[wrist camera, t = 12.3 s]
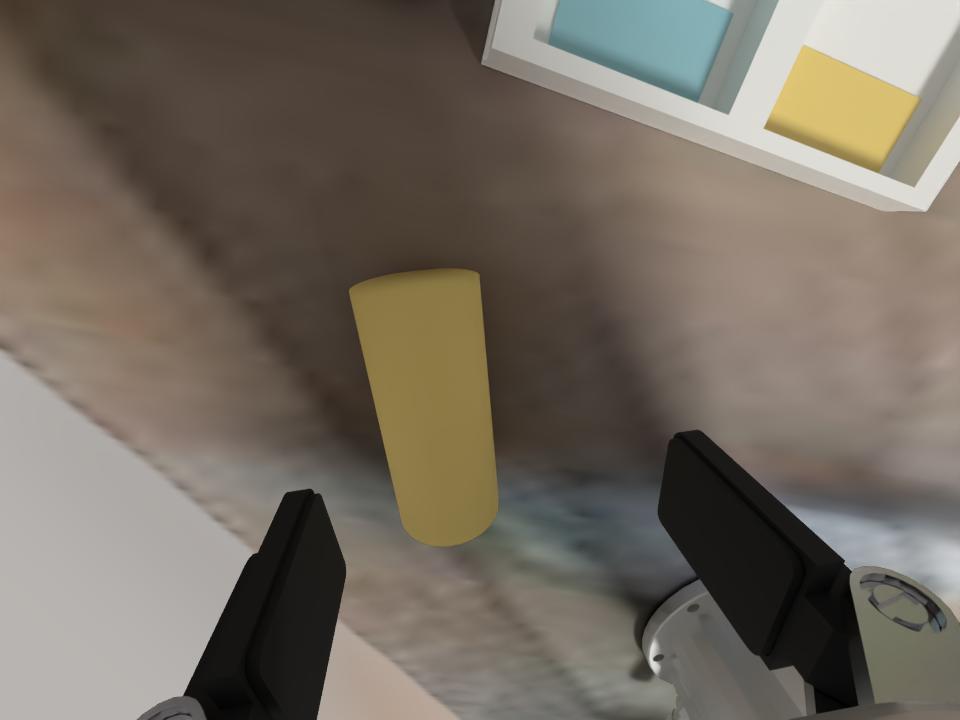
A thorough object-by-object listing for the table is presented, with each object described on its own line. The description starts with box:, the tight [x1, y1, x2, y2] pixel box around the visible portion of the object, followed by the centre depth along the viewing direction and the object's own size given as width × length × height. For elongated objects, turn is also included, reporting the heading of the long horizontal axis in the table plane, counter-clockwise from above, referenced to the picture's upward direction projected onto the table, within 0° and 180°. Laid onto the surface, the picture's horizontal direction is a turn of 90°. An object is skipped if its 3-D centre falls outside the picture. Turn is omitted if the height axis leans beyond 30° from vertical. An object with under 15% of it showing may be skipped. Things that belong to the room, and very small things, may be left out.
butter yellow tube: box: [349, 268, 499, 547], centre depth 16 cm, size 11×5×5 cm
